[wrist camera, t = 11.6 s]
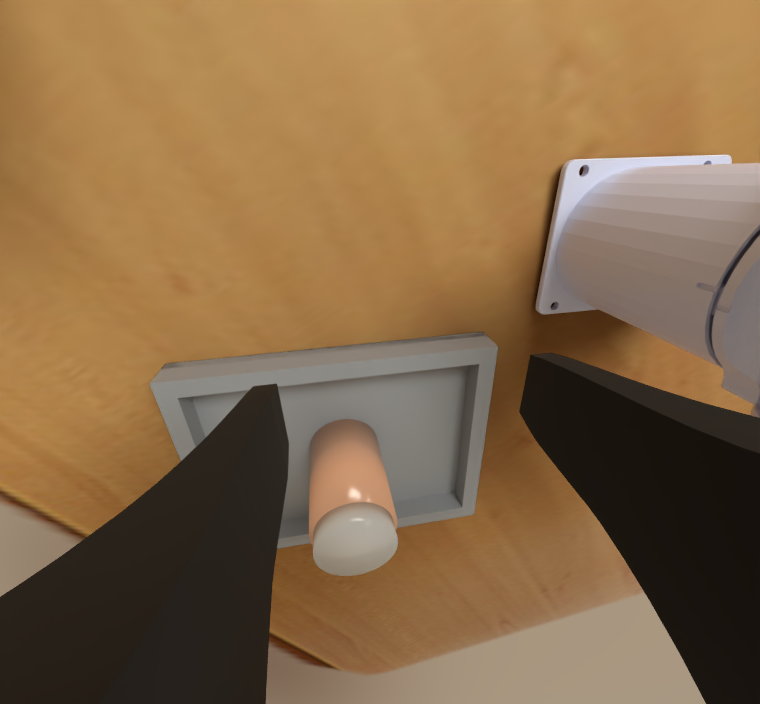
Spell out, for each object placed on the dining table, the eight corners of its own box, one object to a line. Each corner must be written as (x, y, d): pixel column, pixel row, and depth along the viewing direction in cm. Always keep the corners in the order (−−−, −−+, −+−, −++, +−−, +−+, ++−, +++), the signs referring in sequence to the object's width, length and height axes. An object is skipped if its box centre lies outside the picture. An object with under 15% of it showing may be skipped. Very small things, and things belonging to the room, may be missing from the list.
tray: (482, 331, 21) (498, 346, 19) (463, 492, 27) (473, 514, 25) (165, 363, 18) (149, 383, 17) (227, 531, 25) (220, 558, 23)
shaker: (370, 411, 21) (393, 506, 15) (383, 461, 23) (408, 562, 17) (300, 429, 21) (296, 534, 15) (320, 478, 23) (323, 588, 17)
